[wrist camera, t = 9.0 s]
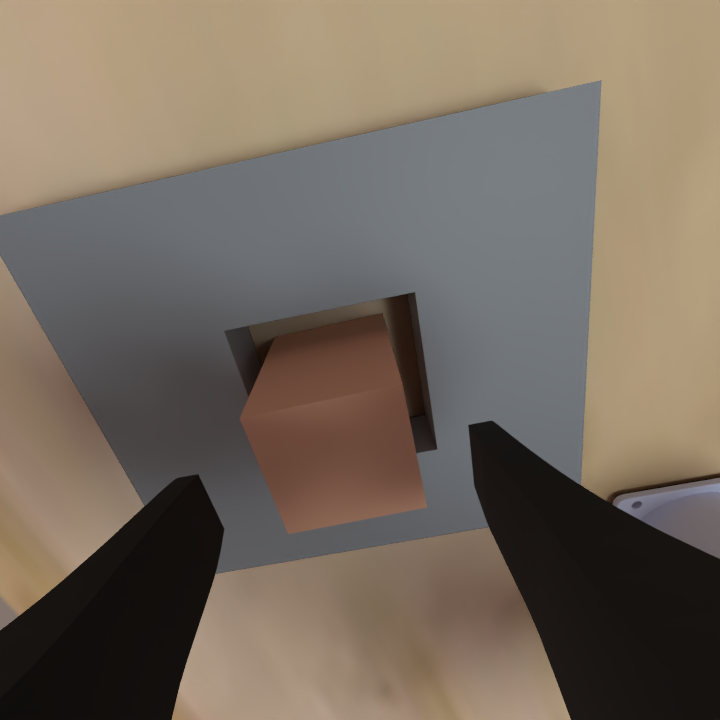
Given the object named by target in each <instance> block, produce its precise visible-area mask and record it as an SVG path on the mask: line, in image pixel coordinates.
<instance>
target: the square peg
mask: <svg viewBox="0 0 720 720" xmlns="http://www.w3.org/2000/svg"><path fill="white" fill-rule="evenodd" d="M240 421H241V423H242V426H243V428H244V430H245V433H246V435H247V437H248V440H249V442H250V445H251V447H252V449H253V452H254V454H255V456H256V459H257V461H258V464H259V466H260V468H261V471H262V473H263V475H264V478H265V480H266V483H267V485H268V487H269V490H270V492H271V495H272V497H273V499H274V502H275V504H276V506H277V509H278V511H279V514H280V516H281V518H282V521H283V523H284V525H285V528H286V530H287V533H288V534H292V533H297V532H302V531H308V530H313V529H318V528H323V527H328V526H334V525H339V524H344V523H349V522H354V521H360V520H365V519H370V518H375V517H380V516H386V515H391V514H396V513H401V512H406V511H412V510H417V509H422V508H427V504H426V499H425V494H424V489H423V484H422V479H421V474H420V469H419V464H418V459H417V454H416V449H415V444H414V439H413V434H412V429H411V424H410V419H409V414H408V409H407V404H406V399H405V394H404V389H403V384H402V380H401V377H400V373H399V370H398V366H397V363H396V359H395V356H394V352H393V349H392V345H391V342H390V338H389V334H388V331H387V327H386V324H385V320H384V317H383V313H382V314H377V315H373V316H368V317H364V318H359V319H355V320H350V321H346V322H342V323H337V324H333V325H328V326H324V327H319V328H315V329H310V330H306V331H301V332H297V333H292V334H288V335H283V336H279V337H275V338H274V340H273V343H272V345H271V347H270V350H269V352H268V354H267V357H266V359H265V361H264V363H263V366H262V368H261V370H260V373H259V375H258V377H257V380H256V382H255V384H254V386H253V389H252V391H251V393H250V396H249V398H248V400H247V402H246V405H245V407H244V409H243V412H242V414H241V416H240Z"/></svg>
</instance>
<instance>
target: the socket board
mask: <svg viewBox="0 0 720 720" xmlns="http://www.w3.org/2000/svg"><path fill="white" fill-rule="evenodd" d="M600 97H601V81H596V82H592V83H587V84H583V85H578V86H574V87H570V88H565V89H561V90H556V91H552V92H547V93H543V94H538V95H534V96H530V97H525V98H521V99H516V100H512V101H507V102H503V103H498V104H494V105H490V106H485V107H481V108H476V109H472V110H467V111H463V112H458V113H454V114H450V115H445V116H441V117H436V118H432V119H427V120H423V121H418V122H414V123H410V124H405V125H401V126H396V127H392V128H387V129H383V130H378V131H374V132H370V133H365V134H361V135H356V136H352V137H347V138H343V139H338V140H334V141H330V142H325V143H321V144H316V145H312V146H307V147H303V148H298V149H294V150H290V151H285V152H281V153H276V154H272V155H267V156H263V157H258V158H254V159H250V160H245V161H241V162H236V163H232V164H227V165H223V166H218V167H214V168H210V169H205V170H201V171H196V172H192V173H187V174H183V175H178V176H174V177H170V178H165V179H161V180H156V181H152V182H147V183H143V184H138V185H134V186H130V187H125V188H121V189H116V190H112V191H107V192H103V193H98V194H94V195H90V196H85V197H81V198H76V199H72V200H67V201H63V202H58V203H54V204H50V205H45V206H41V207H36V208H32V209H27V210H23V211H18V212H14V213H10V214H5V215H1V216H0V256H1V258H2V259H3V261H4V263H5V264H6V266H7V268H8V270H9V271H10V273H11V275H12V277H13V278H14V280H15V282H16V284H17V285H18V287H19V289H20V290H21V292H22V294H23V296H24V297H25V299H26V301H27V303H28V304H29V306H30V308H31V310H32V311H33V313H34V315H35V316H36V318H37V320H38V322H39V323H40V325H41V327H42V329H43V330H44V332H45V334H46V336H47V337H48V339H49V341H50V342H51V344H52V346H53V348H54V349H55V351H56V353H57V355H58V356H59V358H60V360H61V362H62V363H63V365H64V367H65V368H66V370H67V372H68V374H69V375H70V377H71V379H72V381H73V382H74V384H75V386H76V388H77V389H78V391H79V393H80V394H81V396H82V398H83V400H84V401H85V403H86V405H87V407H88V408H89V410H90V412H91V414H92V415H93V417H94V419H95V420H96V422H97V424H98V426H99V427H100V429H101V431H102V433H103V434H104V436H105V438H106V440H107V441H108V443H109V445H110V446H111V448H112V450H113V452H114V453H115V455H116V457H117V459H118V460H119V462H120V464H121V466H122V467H123V469H124V471H125V472H126V474H127V476H128V478H129V479H130V481H131V483H132V485H133V486H134V488H135V490H136V492H137V493H138V495H139V497H140V498H141V500H142V502H143V504H144V505H147V504H148V503H149V502H150V501H151V500H152V499H153V498H154V497H155V496H156V495H157V494H158V493H160V492H161V491H162V490H163V489H164V488H165V487H166V486H167V485H169V484H170V483H171V482H172V481H174V480H175V479H176V478H180V477H185V476H191V475H196V474H199V476H200V479H201V481H202V483H203V485H204V487H205V489H206V491H207V493H208V495H209V498H210V500H211V502H212V504H213V506H214V508H215V510H216V512H217V514H218V516H219V519H220V521H221V523H222V525H223V527H224V535H223V541H222V547H221V552H220V557H219V562H218V566H217V570H216V573H215V574H217V573H223V572H229V571H234V570H240V569H246V568H252V567H258V566H264V565H270V564H275V563H281V562H287V561H293V560H299V559H305V558H311V557H316V556H322V555H328V554H334V553H340V552H346V551H352V550H357V549H363V548H369V547H375V546H381V545H387V544H393V543H398V542H404V541H410V540H416V539H422V538H428V537H434V536H439V535H445V534H451V533H457V532H463V531H469V530H475V529H480V528H486V527H489V526H488V524H487V521H486V518H485V516H484V513H483V510H482V507H481V504H480V501H479V498H478V495H477V492H476V489H475V486H474V478H473V468H472V458H471V448H470V438H469V428H468V425H470V424H475V423H481V422H486V421H494V422H495V423H496V424H498V425H499V426H500V427H502V428H503V429H504V430H505V431H507V432H508V433H509V434H510V435H512V436H513V437H514V438H515V439H517V440H518V441H519V442H521V443H522V444H523V445H524V446H526V447H527V448H528V449H530V450H531V451H532V452H534V453H535V454H536V455H538V456H539V457H540V458H542V459H543V460H545V461H546V462H547V463H549V464H550V465H552V466H553V467H554V468H556V469H557V470H559V471H560V472H561V473H563V474H564V475H566V476H567V477H569V478H570V479H572V480H573V481H575V482H576V483H578V484H579V485H581V468H582V449H583V429H584V410H585V390H586V370H587V351H588V331H589V312H590V292H591V273H592V253H593V234H594V214H595V195H596V175H597V156H598V136H599V117H600ZM403 294H407V295H408V301H409V308H410V315H411V321H412V328H413V334H414V341H415V348H416V354H417V361H418V368H419V374H420V381H421V387H422V394H423V401H424V407H425V414H426V415H423V416H418V417H413V418H409V419H410V424H411V429H412V434H413V439H414V444H415V449H416V454H417V459H418V464H419V469H420V474H421V479H422V484H423V489H424V494H425V499H426V504H427V508H422V509H417V510H412V511H406V512H401V513H396V514H391V515H386V516H380V517H375V518H370V519H365V520H360V521H354V522H349V523H344V524H339V525H334V526H328V527H323V528H318V529H313V530H308V531H302V532H297V533H292V534H288V533H287V530H286V528H285V525H284V523H283V521H282V518H281V516H280V514H279V511H278V509H277V506H276V504H275V502H274V499H273V497H272V495H271V492H270V490H269V487H268V485H267V483H266V480H265V478H264V475H263V473H262V471H261V468H260V466H259V464H258V461H257V459H256V456H255V454H254V452H253V449H252V447H251V445H250V442H249V440H248V437H247V435H246V433H245V430H244V428H243V426H242V423H241V421H240V416H241V414H242V412H243V409H244V407H245V405H246V402H247V400H248V398H249V396H250V393H251V391H252V389H253V386H254V384H255V382H256V380H257V377H258V375H259V373H260V370H261V368H262V367H261V364H260V361H259V358H258V355H257V352H256V349H255V346H254V343H253V340H252V337H251V335H250V332H249V329H248V326H250V325H255V324H260V323H265V322H270V321H275V320H280V319H285V318H290V317H295V316H299V315H304V314H309V313H314V312H319V311H324V310H329V309H334V308H339V307H344V306H349V305H354V304H359V303H363V302H368V301H373V300H378V299H383V298H388V297H393V296H398V295H403Z"/></svg>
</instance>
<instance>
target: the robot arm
mask: <svg viewBox="0 0 720 720" xmlns="http://www.w3.org/2000/svg"><path fill="white" fill-rule="evenodd" d="M468 428H469V438H470V448H471V458H472V468H473V478H474V486H475V489H476V492H477V495H478V498H479V501H480V504H481V507H482V510H483V513H484V516H485V518H486V521H487V524H488V526H489V528H490V530H491V532H492V534H493V536H494V538H495V541H496V543H497V545H498V547H499V549H500V551H501V553H502V555H503V557H504V559H505V562H506V564H507V566H508V568H509V570H510V572H511V574H512V576H513V578H514V580H515V582H516V585H517V587H518V589H519V591H520V593H521V595H522V597H523V599H524V601H525V603H526V605H527V607H528V610H529V612H530V614H531V616H532V619H533V621H534V623H535V626H536V628H537V630H538V633H539V635H540V638H541V640H542V643H543V646H544V648H545V651H546V654H547V656H548V659H549V662H550V664H551V667H552V669H553V672H554V675H555V677H556V680H557V683H558V685H559V688H560V691H561V694H562V696H563V699H564V702H565V704H566V707H567V710H568V713H569V715H570V718H571V720H720V478H715V479H709V480H703V481H697V482H692V483H686V484H680V485H674V486H668V487H663V488H657V489H651V490H645V491H639V492H634V493H628V494H622V495H619V496H617V497H616V498H615V499H614V501H613V505H612V504H610V503H609V502H607V501H605V500H604V499H602V498H600V497H598V496H597V495H595V494H594V493H592V492H590V491H589V490H587V489H586V488H584V487H583V486H581V485H579V484H578V483H576V482H575V481H573V480H572V479H570V478H569V477H567V476H566V475H564V474H563V473H561V472H560V471H559V470H557V469H556V468H554V467H553V466H552V465H550V464H549V463H547V462H546V461H545V460H543V459H542V458H540V457H539V456H538V455H536V454H535V453H534V452H532V451H531V450H530V449H528V448H527V447H526V446H524V445H523V444H522V443H521V442H519V441H518V440H517V439H515V438H514V437H513V436H512V435H510V434H509V433H508V432H507V431H505V430H504V429H503V428H502V427H500V426H499V425H498V424H496V423H495V422H494V421H486V422H481V423H475V424H470V425H468ZM223 535H224V527H223V525H222V523H221V521H220V519H219V516H218V514H217V512H216V510H215V508H214V506H213V504H212V502H211V500H210V498H209V495H208V493H207V491H206V489H205V487H204V485H203V483H202V481H201V479H200V476H199V474H196V475H191V476H185V477H180V478H176V479H175V480H174V481H172V482H171V483H170V484H169V485H167V486H166V487H165V488H164V489H163V490H162V491H161V492H160V493H158V494H157V495H156V496H155V497H154V498H153V499H152V500H151V501H150V502H149V503H148V504H147V505H145V506H144V507H143V508H142V509H141V510H140V511H139V512H138V513H137V514H136V515H135V516H134V517H133V518H132V519H131V520H130V521H128V522H127V523H126V524H125V525H124V526H123V527H122V528H121V529H120V530H119V531H118V532H117V533H116V534H115V535H113V536H112V537H111V538H110V539H109V540H108V541H107V542H106V543H105V544H104V545H103V546H101V547H100V548H99V549H98V550H97V551H96V552H95V553H94V554H92V555H91V556H90V557H89V558H88V559H87V560H86V561H84V562H83V563H82V564H81V565H80V566H79V567H78V568H77V569H75V570H74V571H73V572H72V573H71V574H70V575H69V576H67V577H66V578H65V579H64V580H63V581H62V582H61V583H59V584H58V585H57V586H56V587H55V588H53V589H52V590H51V591H50V592H49V593H47V594H46V595H45V596H44V597H42V598H41V599H40V600H39V601H38V602H36V603H35V604H34V605H32V606H31V607H30V608H29V609H27V610H26V611H25V612H24V613H22V614H21V615H20V616H18V617H17V618H16V619H15V620H13V621H12V622H11V623H9V624H8V625H7V626H6V627H4V628H3V629H2V630H0V720H171V719H172V715H173V711H174V707H175V702H176V698H177V694H178V690H179V686H180V682H181V679H182V675H183V672H184V669H185V665H186V662H187V659H188V656H189V653H190V650H191V647H192V644H193V641H194V638H195V635H196V632H197V629H198V626H199V623H200V620H201V617H202V614H203V611H204V608H205V605H206V602H207V598H208V595H209V592H210V589H211V586H212V583H213V580H214V577H215V573H216V570H217V566H218V562H219V557H220V552H221V547H222V541H223Z"/></svg>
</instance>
